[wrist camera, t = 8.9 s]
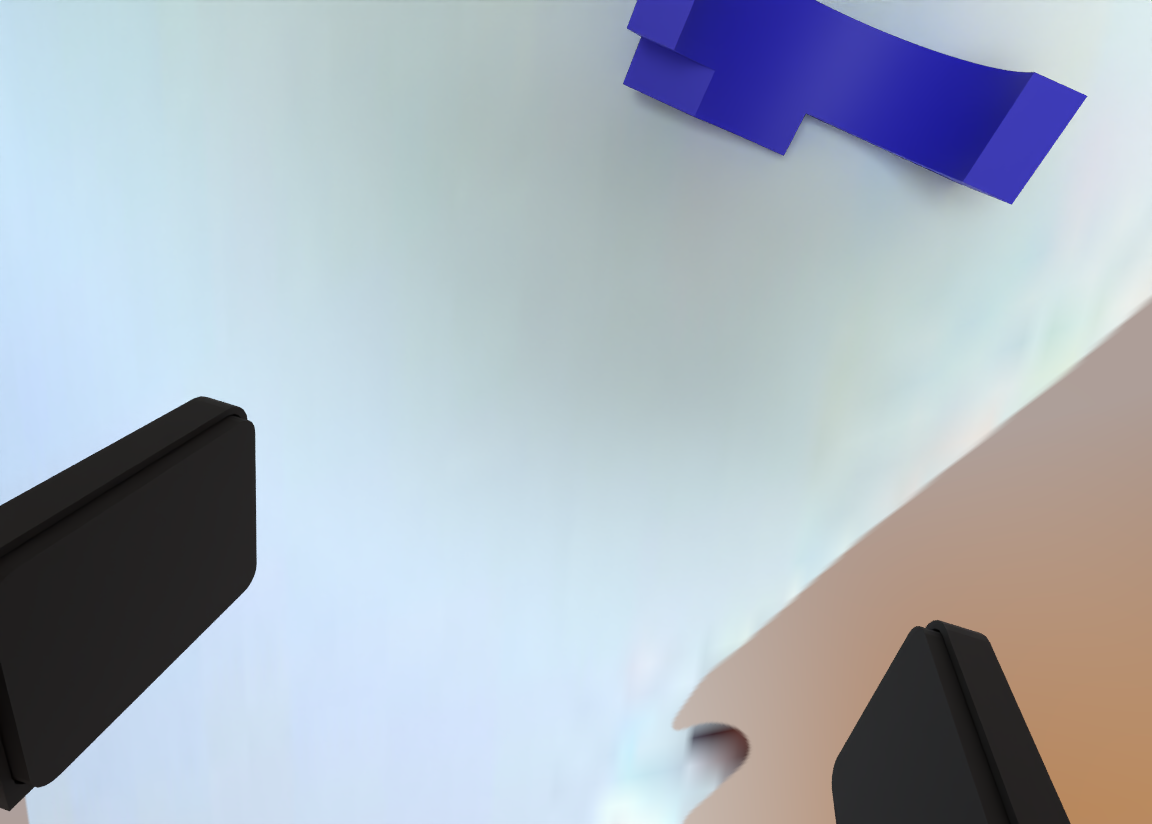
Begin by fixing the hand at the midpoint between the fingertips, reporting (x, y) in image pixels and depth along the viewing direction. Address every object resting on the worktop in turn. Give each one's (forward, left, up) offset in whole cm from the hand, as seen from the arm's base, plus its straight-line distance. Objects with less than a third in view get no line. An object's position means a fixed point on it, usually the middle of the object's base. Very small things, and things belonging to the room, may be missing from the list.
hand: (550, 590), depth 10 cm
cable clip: (-7, +3, -21) cm, 22 cm away
